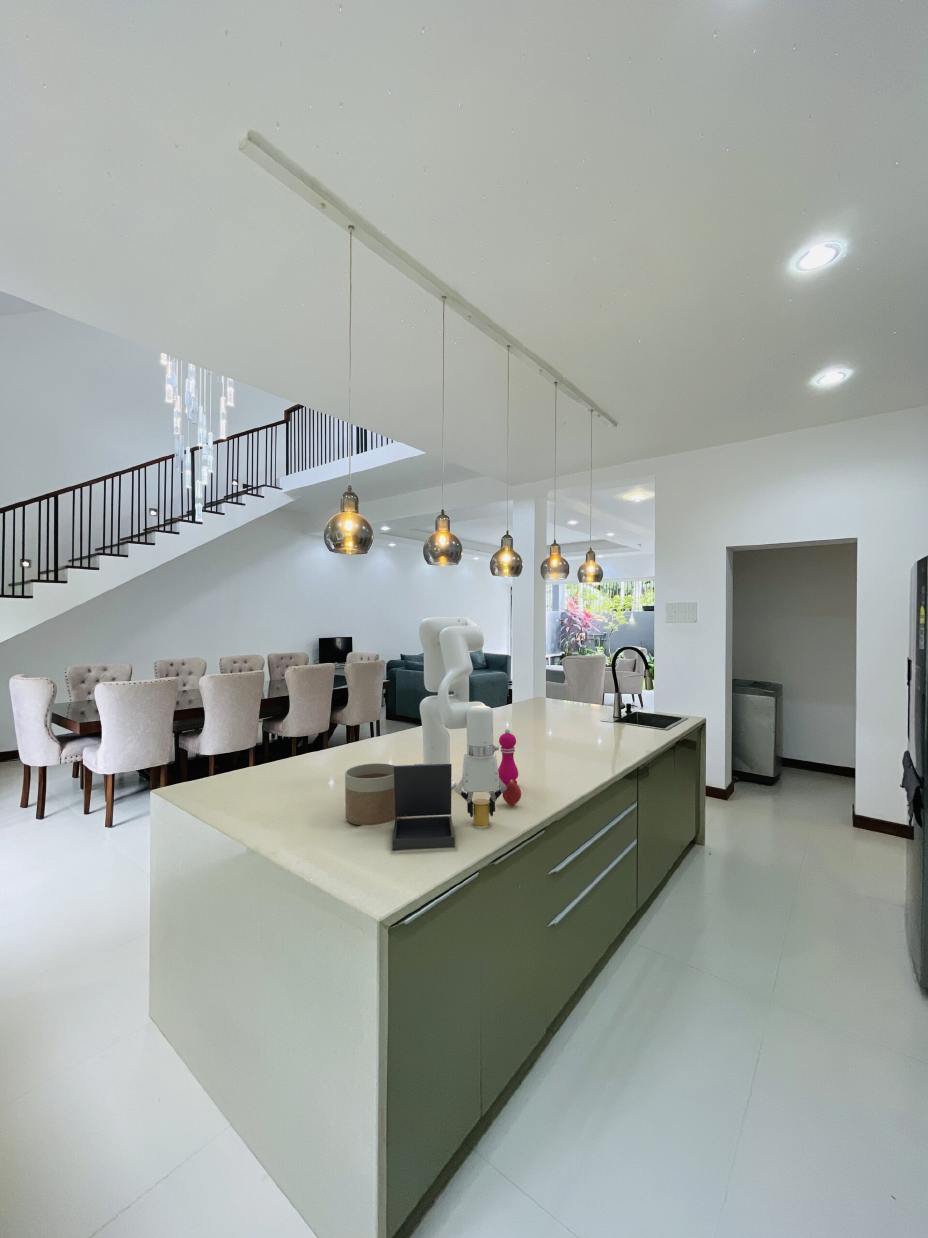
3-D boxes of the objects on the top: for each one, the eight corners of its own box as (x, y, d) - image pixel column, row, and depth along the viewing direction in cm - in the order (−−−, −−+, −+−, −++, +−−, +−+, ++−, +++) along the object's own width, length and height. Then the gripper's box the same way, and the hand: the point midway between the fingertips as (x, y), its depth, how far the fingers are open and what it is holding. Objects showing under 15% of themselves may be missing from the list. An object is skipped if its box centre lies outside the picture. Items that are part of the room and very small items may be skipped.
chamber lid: (451, 765, 140) (450, 756, 144) (393, 767, 138) (394, 758, 143) (451, 814, 144) (450, 804, 148) (395, 817, 142) (395, 807, 147)
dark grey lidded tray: (454, 850, 129) (454, 837, 129) (392, 853, 128) (392, 840, 128) (451, 827, 144) (451, 815, 144) (395, 830, 143) (395, 818, 143)
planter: (353, 832, 142) (353, 781, 142) (339, 813, 156) (339, 767, 156) (407, 821, 149) (407, 773, 149) (389, 804, 163) (389, 760, 163)
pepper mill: (496, 783, 183) (495, 727, 183) (516, 782, 183) (515, 726, 183) (499, 790, 176) (498, 731, 176) (520, 789, 176) (519, 730, 176)
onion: (520, 809, 157) (519, 783, 157) (501, 808, 158) (501, 782, 158) (522, 803, 162) (521, 777, 163) (503, 802, 164) (503, 777, 164)
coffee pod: (468, 823, 145) (468, 802, 145) (479, 818, 149) (479, 797, 149) (482, 827, 141) (482, 806, 142) (493, 822, 145) (493, 801, 145)
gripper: (507, 746, 150) (508, 809, 150) (449, 748, 148) (450, 811, 148) (512, 752, 142) (513, 818, 142) (450, 754, 141) (451, 821, 141)
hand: (481, 814), depth 145 cm, fingers closed on coffee pod, 5 cm apart
